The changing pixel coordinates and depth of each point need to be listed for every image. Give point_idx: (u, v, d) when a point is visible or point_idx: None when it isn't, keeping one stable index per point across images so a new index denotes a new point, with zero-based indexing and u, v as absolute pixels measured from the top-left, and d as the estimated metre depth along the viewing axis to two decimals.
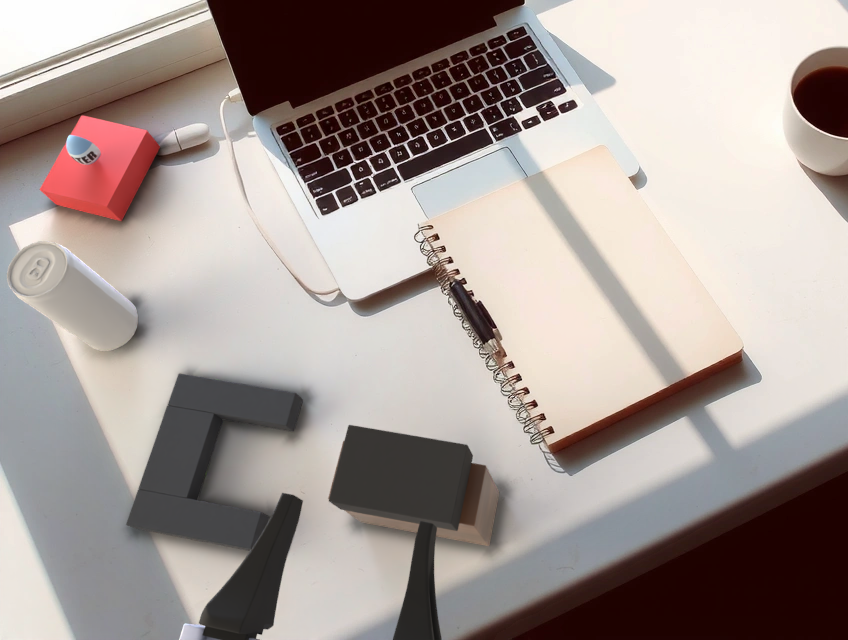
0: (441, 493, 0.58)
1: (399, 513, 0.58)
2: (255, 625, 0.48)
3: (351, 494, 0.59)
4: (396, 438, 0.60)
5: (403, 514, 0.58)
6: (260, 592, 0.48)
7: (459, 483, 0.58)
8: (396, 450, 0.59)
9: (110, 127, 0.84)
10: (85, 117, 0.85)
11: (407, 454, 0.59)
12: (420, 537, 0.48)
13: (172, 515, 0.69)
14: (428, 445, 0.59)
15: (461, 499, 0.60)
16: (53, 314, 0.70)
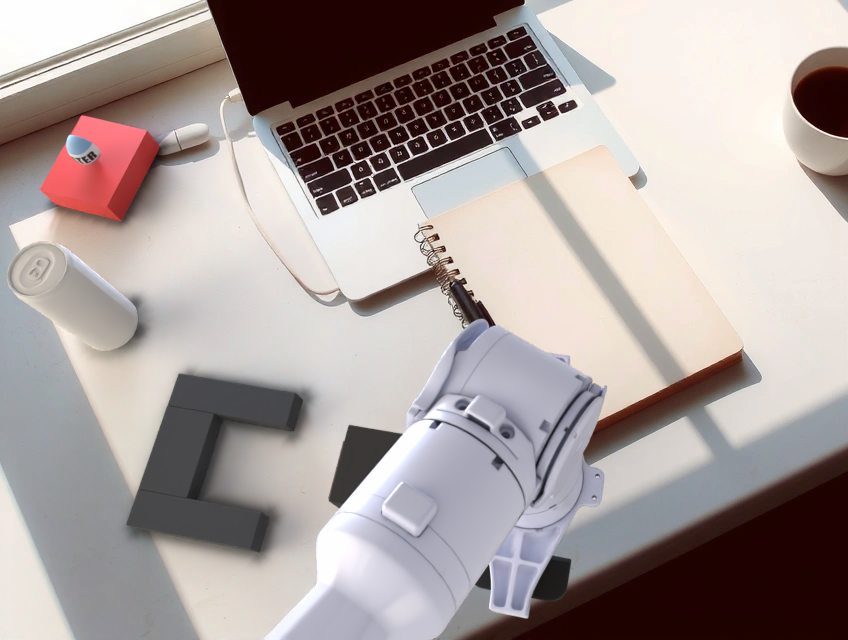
0: None
1: None
2: None
3: (351, 494, 0.59)
4: (396, 438, 0.60)
5: None
6: None
7: None
8: None
9: (110, 127, 0.84)
10: (85, 117, 0.85)
11: None
12: None
13: (172, 515, 0.69)
14: None
15: None
16: (53, 314, 0.70)
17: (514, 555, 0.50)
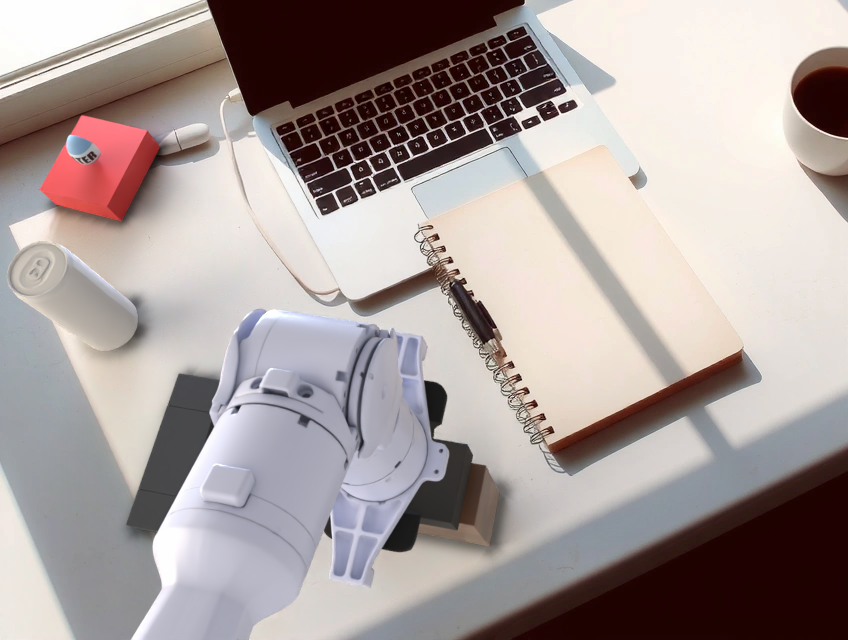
0: (441, 492, 0.58)
1: None
2: None
3: None
4: None
5: None
6: None
7: (459, 482, 0.58)
8: None
9: (110, 127, 0.84)
10: (85, 117, 0.85)
11: None
12: None
13: None
14: None
15: (461, 498, 0.60)
16: (53, 314, 0.70)
17: (356, 527, 0.52)
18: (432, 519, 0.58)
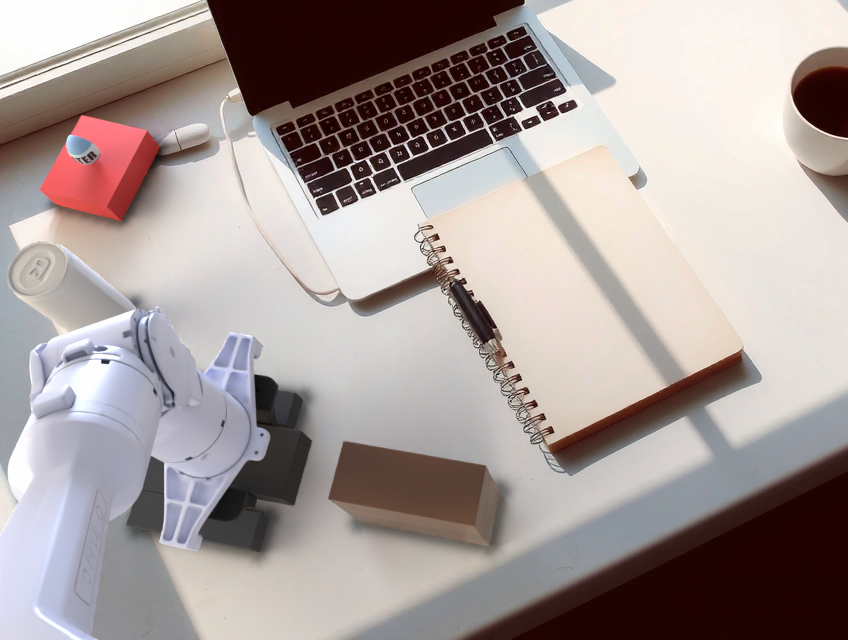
0: (275, 472, 0.67)
1: None
2: None
3: None
4: None
5: None
6: (258, 415, 0.67)
7: (292, 464, 0.67)
8: None
9: (110, 127, 0.84)
10: (85, 117, 0.85)
11: None
12: (255, 500, 0.68)
13: None
14: (268, 430, 0.68)
15: (297, 478, 0.69)
16: (53, 314, 0.70)
17: (186, 499, 0.61)
18: (266, 495, 0.66)
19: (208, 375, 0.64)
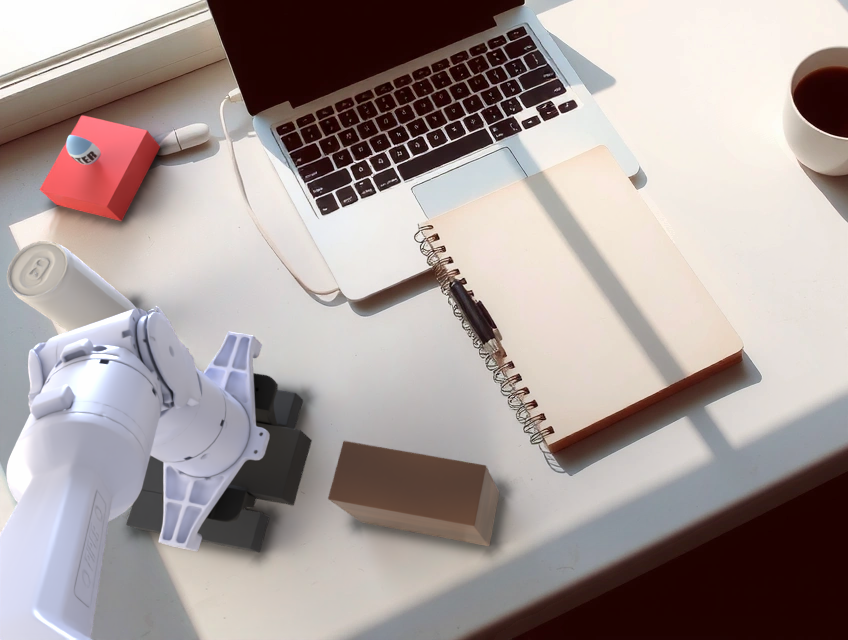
0: (275, 471, 0.67)
1: None
2: None
3: None
4: None
5: None
6: (257, 414, 0.67)
7: (291, 463, 0.67)
8: None
9: (110, 127, 0.84)
10: (85, 117, 0.85)
11: None
12: (254, 500, 0.68)
13: None
14: (267, 430, 0.68)
15: (296, 477, 0.68)
16: (53, 314, 0.70)
17: (185, 499, 0.60)
18: (265, 495, 0.66)
19: (207, 374, 0.64)
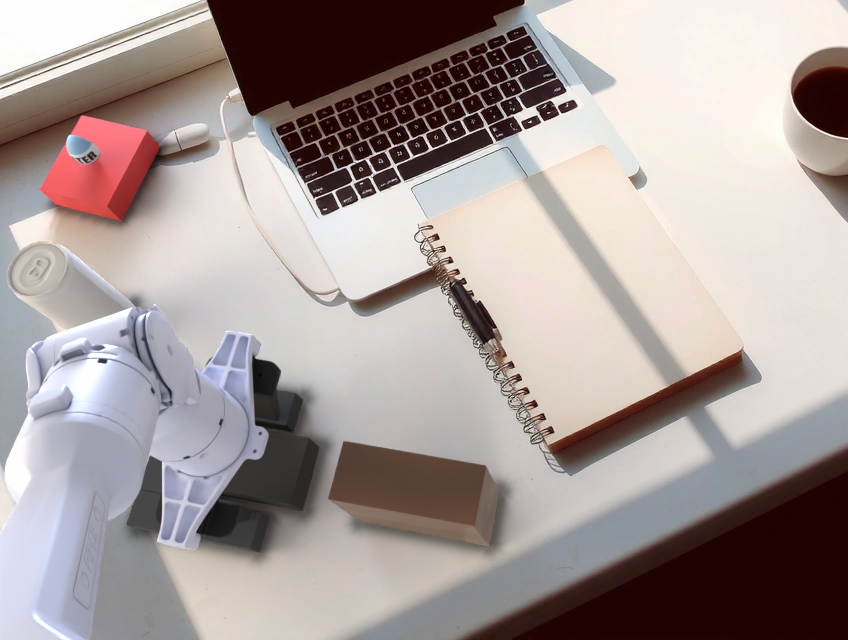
0: (284, 478, 0.69)
1: (248, 495, 0.69)
2: None
3: None
4: None
5: (252, 496, 0.69)
6: (261, 400, 0.67)
7: (300, 470, 0.69)
8: None
9: (110, 127, 0.84)
10: (85, 117, 0.85)
11: None
12: (249, 514, 0.68)
13: None
14: (276, 438, 0.70)
15: (305, 484, 0.71)
16: (53, 314, 0.70)
17: (184, 498, 0.60)
18: (275, 500, 0.68)
19: (206, 373, 0.64)
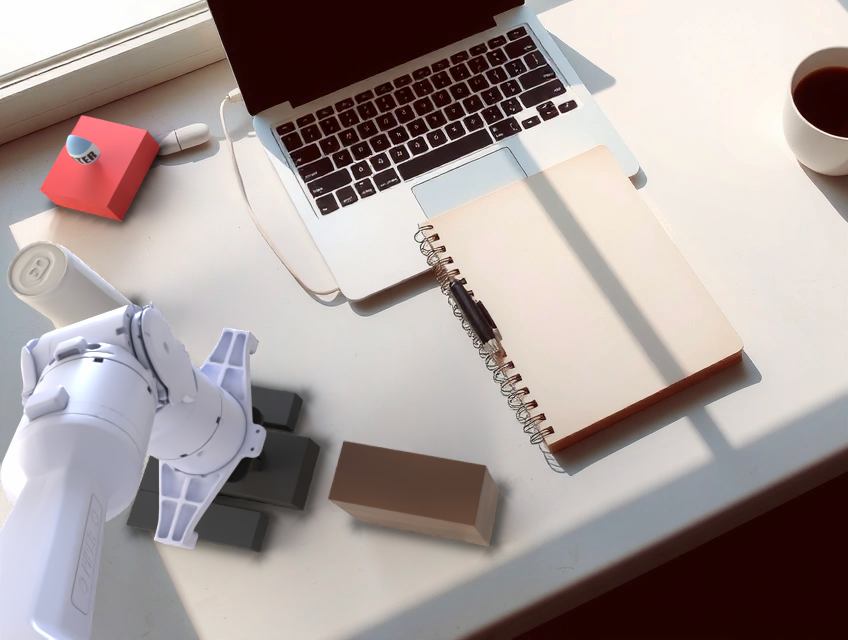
0: (285, 478, 0.69)
1: (249, 495, 0.69)
2: None
3: None
4: None
5: (252, 496, 0.69)
6: None
7: (301, 470, 0.69)
8: None
9: (110, 127, 0.84)
10: (85, 117, 0.85)
11: None
12: (261, 464, 0.69)
13: None
14: (277, 437, 0.70)
15: (305, 483, 0.71)
16: (52, 314, 0.70)
17: (181, 496, 0.60)
18: (276, 500, 0.68)
19: (203, 371, 0.64)
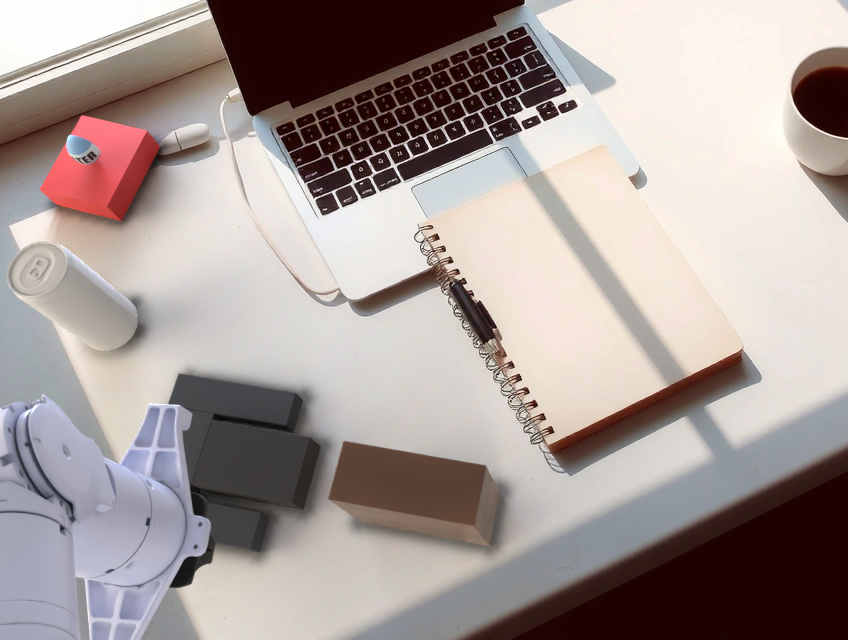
0: (285, 477, 0.69)
1: (249, 494, 0.69)
2: None
3: (210, 478, 0.69)
4: (251, 431, 0.71)
5: (253, 495, 0.69)
6: None
7: (301, 469, 0.69)
8: (250, 441, 0.70)
9: (110, 127, 0.84)
10: (85, 117, 0.85)
11: (260, 444, 0.70)
12: (211, 555, 0.59)
13: None
14: (277, 437, 0.70)
15: (306, 483, 0.71)
16: (53, 314, 0.70)
17: None
18: (276, 500, 0.68)
19: (129, 458, 0.54)
